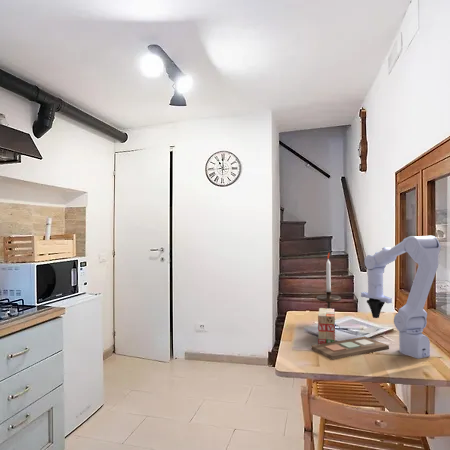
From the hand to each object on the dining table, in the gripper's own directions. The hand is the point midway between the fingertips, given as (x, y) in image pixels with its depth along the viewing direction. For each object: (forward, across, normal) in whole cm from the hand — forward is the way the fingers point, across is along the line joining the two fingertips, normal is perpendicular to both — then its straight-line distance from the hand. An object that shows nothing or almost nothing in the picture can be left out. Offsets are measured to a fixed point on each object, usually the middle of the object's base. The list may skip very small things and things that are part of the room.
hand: (375, 317), depth 149 cm
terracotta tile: (+9, +6, -26) cm, 28 cm away
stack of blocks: (+9, -10, -17) cm, 22 cm away
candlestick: (+10, -22, -6) cm, 25 cm away
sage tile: (+9, +6, -19) cm, 22 cm away
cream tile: (+9, +6, -12) cm, 16 cm away
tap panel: (+9, +6, -19) cm, 22 cm away
